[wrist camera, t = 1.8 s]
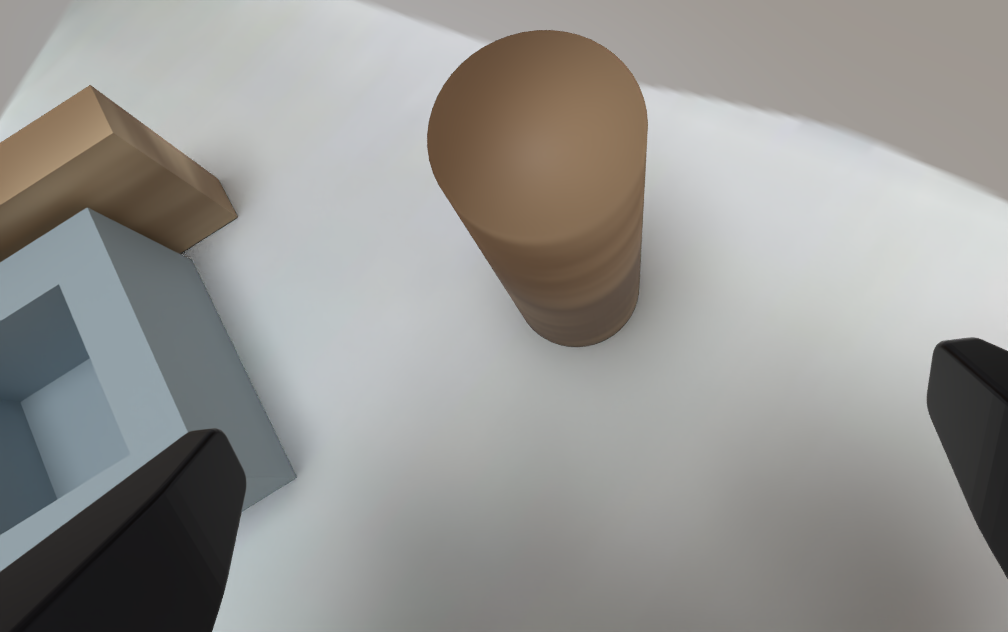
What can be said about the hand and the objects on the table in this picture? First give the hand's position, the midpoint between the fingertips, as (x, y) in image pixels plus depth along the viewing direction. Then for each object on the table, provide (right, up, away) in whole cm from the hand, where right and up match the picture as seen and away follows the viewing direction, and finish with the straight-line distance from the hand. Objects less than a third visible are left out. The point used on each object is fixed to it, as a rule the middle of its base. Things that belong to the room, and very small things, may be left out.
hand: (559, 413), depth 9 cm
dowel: (+1, +2, +12) cm, 13 cm away
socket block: (-12, -2, +14) cm, 19 cm away
